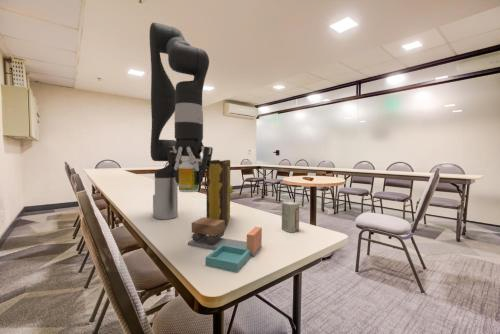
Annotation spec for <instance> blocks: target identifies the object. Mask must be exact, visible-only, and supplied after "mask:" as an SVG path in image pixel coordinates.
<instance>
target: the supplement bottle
mask: <svg viewBox="0 0 500 334" xmlns="http://www.w3.org/2000/svg"><path fill="white" fill-rule="evenodd" d="M181 161H182V164H180V165H179V184H178V192H179V193H196V192H198V191H199V189H200V185H195V171H196V170H195V167H194V164H193V163H192V162H191V159H190V156H181Z"/></svg>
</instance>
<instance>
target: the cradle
mask: <svg viewBox="0 0 500 334" xmlns="http://www.w3.org/2000/svg"><path fill="white" fill-rule="evenodd" d="M251 257H252V256H251V249H246V248H240V247H235V246H229V245H223V244H222V245H221V246H219V247H218V248H217V249H216V250H214V249H213V251H212V252H210V253H209V254H208V255H206V256H205V262H204V263H205V266H207V267H211V268H217V269H222V270H225V271H231V272H235V273H238V272H239V271H241V269H242V268H243V266H244V265H245V264H246V263H247V261H248V260H250V258H251Z"/></svg>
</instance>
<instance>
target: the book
mask: <svg viewBox="0 0 500 334" xmlns="http://www.w3.org/2000/svg"><path fill="white" fill-rule="evenodd" d="M233 191H234V190H233V185H231V159H224V160H223V159H222V160H220V159H211V163H210V168H209V169H206V218H210V219H218V220H225V230H224V233H225V232H226V228H227V226H228V224H229V222H230V219H231V218H230V217H231V194H232V193H233Z"/></svg>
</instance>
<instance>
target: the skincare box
mask: <svg viewBox="0 0 500 334" xmlns="http://www.w3.org/2000/svg"><path fill="white" fill-rule="evenodd" d="M281 229H282V230H283V231H286V232H287V233H296V232H299V231H300V203H299V202H294V201H282V202H281Z"/></svg>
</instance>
